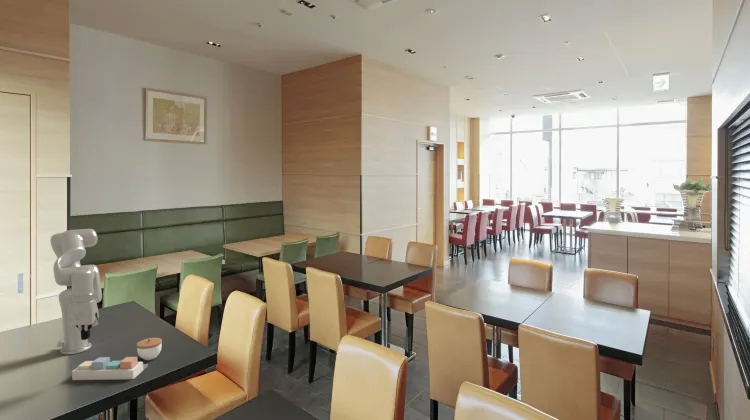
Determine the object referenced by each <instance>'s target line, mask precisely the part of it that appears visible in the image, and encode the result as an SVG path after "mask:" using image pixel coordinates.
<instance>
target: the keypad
mask: <svg viewBox="0 0 750 420" xmlns="http://www.w3.org/2000/svg"><path fill="white" fill-rule="evenodd" d="M148 367H149V364H148V363H144V362H143V361H138V364H137V365H136V366H135V367H133V368H132V369H120V368H119V369H106V368H105V369H96V370H92V368H91V369H90V370H78V366H77V367H76V368H75V369H74V368H73V370H72V371H71V376H72V377H71V378H72V379H71V380H72V381H93V380H94V381H95V380H96V381H99V380H103V381H104V380H134V379H136V378H137V377H138V376H139V375H140V374H141V373H142V372H143V371H145V370H146V369H147V368H148Z"/></svg>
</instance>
